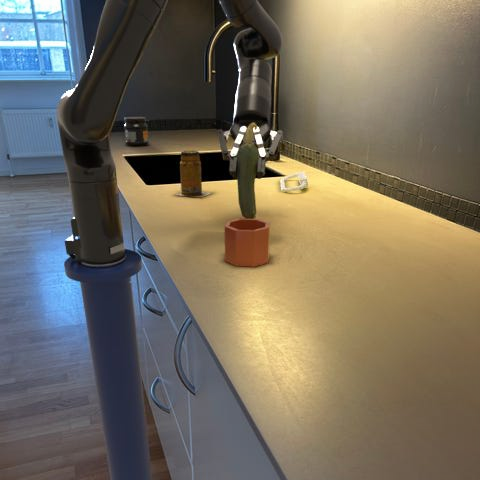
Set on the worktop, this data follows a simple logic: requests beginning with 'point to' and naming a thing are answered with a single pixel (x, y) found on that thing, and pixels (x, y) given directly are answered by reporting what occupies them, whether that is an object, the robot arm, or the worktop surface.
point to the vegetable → (247, 173)
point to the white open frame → (301, 178)
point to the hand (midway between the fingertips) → (246, 176)
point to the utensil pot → (247, 242)
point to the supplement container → (136, 131)
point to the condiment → (191, 175)
